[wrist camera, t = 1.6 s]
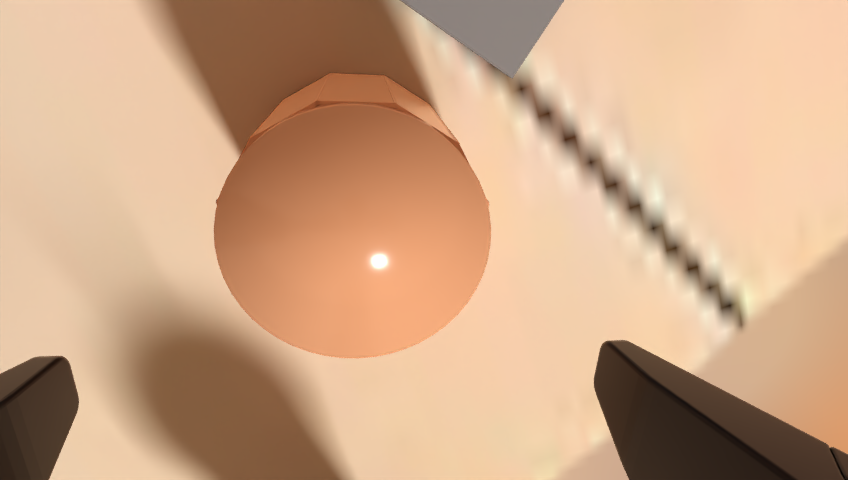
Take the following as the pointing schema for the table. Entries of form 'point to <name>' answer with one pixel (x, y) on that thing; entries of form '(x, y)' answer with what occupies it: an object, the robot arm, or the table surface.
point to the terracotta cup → (352, 220)
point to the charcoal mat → (491, 26)
